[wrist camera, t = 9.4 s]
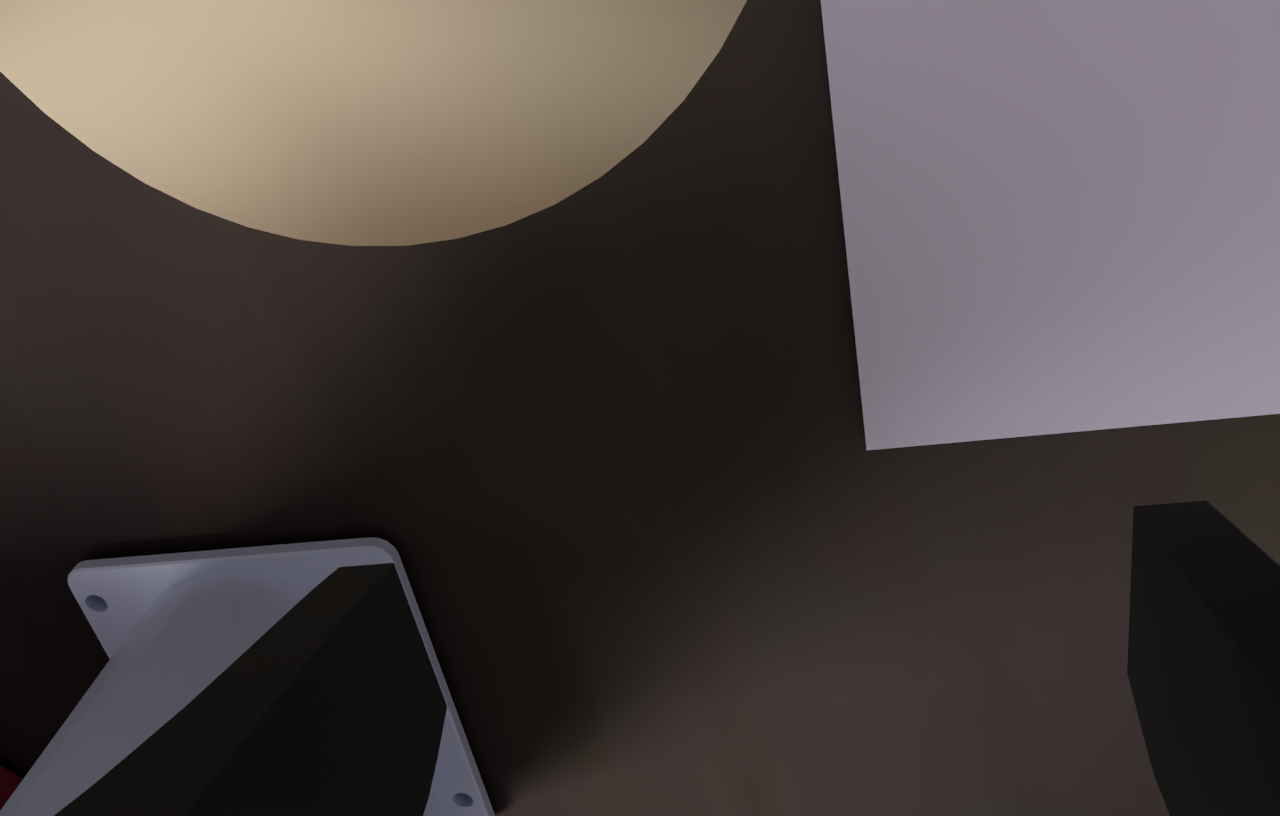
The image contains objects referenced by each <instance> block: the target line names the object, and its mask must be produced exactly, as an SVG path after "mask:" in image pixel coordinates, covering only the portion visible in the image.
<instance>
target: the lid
mask: <svg viewBox="0 0 1280 816" xmlns="http://www.w3.org/2000/svg"><path fill="white" fill-rule="evenodd" d="M746 1H747V0H0V72H2V73H3V74H4V75H5V76H6V77H7V78H8V79H9V80H10V81H11V82H12V83H13V84H14V85H15V86H16V87H17V88H19V89H20V90H21V91H22V92H23V93H24V94H25V95H26V96H27V97H28V98H29V99H30V100H31V101H32V102H33V103H34V104H36V105H37V106H38V107H39V108H40V109H41V110H42V111H43V112H44V113H45V114H46V115H48V116H49V117H50V118H52V119H53V120H54V121H55V122H57V123H58V124H59V125H61V126H62V127H63V128H64V129H66V130H67V131H68V132H70V133H71V134H72V135H74V136H75V137H76V138H77V139H79V140H80V141H81V142H83V143H84V144H85V145H86V146H88V147H89V148H90V149H92V150H93V151H94V152H96V153H97V154H99V155H101V156H102V157H104V158H105V159H107V160H109V161H110V162H112V163H113V164H115V165H117V166H118V167H120V168H121V169H123V170H125V171H126V172H128V173H129V174H131V175H133V176H134V177H136V178H137V179H139V180H140V181H142V182H144V183H146V184H148V185H150V186H152V187H154V188H156V189H158V190H160V191H162V192H164V193H166V194H168V195H170V196H172V197H174V198H176V199H178V200H180V201H182V202H184V203H186V204H188V205H190V206H192V207H194V208H197V209H199V210H202V211H205V212H208V213H210V214H213V215H216V216H219V217H221V218H224V219H227V220H230V221H232V222H235V223H238V224H241V225H243V226H246V227H249V228H253V229H258V230H262V231H266V232H270V233H274V234H278V235H282V236H287V237H291V238H295V239H299V240H306V241H314V242H323V243H331V244H340V245H348V246H407V245H415V244H422V243H430V242H437V241H444V240H452V239H458V238H461V237H465V236H469V235H472V234H476V233H480V232H483V231H487V230H491V229H494V228H498V227H502V226H505V225H508V224H510V223H513V222H515V221H517V220H520V219H522V218H524V217H527V216H529V215H532V214H534V213H536V212H539V211H541V210H543V209H546V208H548V207H550V206H553V205H555V204H557V203H558V202H560V201H562V200H563V199H565V198H567V197H568V196H570V195H572V194H573V193H575V192H577V191H578V190H580V189H582V188H583V187H585V186H587V185H588V184H590V183H592V182H593V181H595V180H597V179H598V178H600V177H601V176H603V175H604V174H605V173H606V172H608V171H609V170H610V169H611V168H613V167H614V166H615V165H616V164H618V163H619V162H620V161H621V160H623V159H624V158H625V157H626V156H628V155H629V154H630V153H631V152H633V151H634V150H635V149H636V148H638V147H639V146H640V145H641V144H643V143H644V142H645V141H646V140H647V139H648V138H649V137H650V136H651V134H652V133H653V132H654V131H655V130H656V129H657V128H658V127H659V126H660V125H661V124H662V123H663V122H664V121H665V120H666V119H667V118H668V117H669V115H670V114H671V113H672V112H673V111H674V110H675V109H676V108H677V107H678V106H679V105H680V104H681V103H682V102H683V101H684V100H685V98H686V97H687V95H688V94H689V93H690V91H691V90H692V88H693V87H694V86H695V84H696V83H697V82H698V80H699V79H700V77H701V76H702V75H703V73H704V72H705V70H706V69H707V68H708V66H709V65H710V64H711V62H712V61H713V59H714V58H715V57H716V55H717V54H718V52H719V51H720V49H721V48H722V46H723V44H724V42H725V40H726V38H727V37H728V35H729V33H730V31H731V29H732V27H733V25H734V24H735V22H736V20H737V18H738V16H739V14H740V13H741V11H742V9H743V7H744V5H745V3H746Z"/></svg>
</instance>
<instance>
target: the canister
mask: <svg viewBox="0 0 1280 816" xmlns="http://www.w3.org/2000/svg"><path fill="white" fill-rule="evenodd" d="M22 780H23V779H22V778H21V777H19V776H17V775H16V774H14V773H13V772H11V771H9V770H8V769H6V768H4V767H2V766H1V765H0V810H1V809H2V808H3V806H4V805H5V804H6V802H7V801H8V799H9V798H10V797H11V795H12V794H13V793H14V791H15V790H16V788H17V787H18V786H19V784H20V783H21V781H22Z"/></svg>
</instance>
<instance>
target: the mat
mask: <svg viewBox="0 0 1280 816" xmlns="http://www.w3.org/2000/svg"><path fill="white" fill-rule="evenodd" d="M821 10H822V19H823V29H824V39H825V49H826V58H827V68H828V78H829V88H830V97H831V107H832V117H833V127H834V137H835V146H836V156H837V166H838V176H839V185H840V195H841V205H842V215H843V224H844V234H845V244H846V254H847V264H848V273H849V283H850V293H851V303H852V312H853V322H854V332H855V342H856V351H857V361H858V371H859V381H860V391H861V400H862V410H863V420H864V430H865V439H866V449H867V450H877V449H888V448H900V447H911V446H922V445H933V444H944V443H956V442H967V441H978V440H989V439H1000V438H1012V437H1023V436H1034V435H1045V434H1056V433H1068V432H1079V431H1090V430H1101V429H1113V428H1124V427H1135V426H1146V425H1157V424H1169V423H1180V422H1191V421H1202V420H1213V419H1225V418H1236V417H1247V416H1258V415H1269V414H1280V0H821Z"/></svg>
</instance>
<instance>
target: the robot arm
mask: <svg viewBox="0 0 1280 816" xmlns="http://www.w3.org/2000/svg"><path fill="white" fill-rule="evenodd" d="M67 582H68V585H69V588H70V589H71V591H72V593H73V595H74V596H75V598H76V600H77V602H78V604H79V605H80V607H81V609H82V611H83V612H84V614H85V616H86V618H87V620H88V621H89V623H90V625H91V627H92V628H93V630H94V632H95V634H96V636H97V637H98V639H99V641H100V643H101V645H102V646H103V648H104V650H105V652H106V653H107V655H108V657H109V659H110V660H109V661H108V663H107V664H106V665H105V667H104V668H103V670H102V671H101V672H100V674H99V675H98V677H97V678H96V679H95V681H94V682H93V683H92V685H91V686H90V688H89V689H88V690H87V692H86V693H85V694H84V696H83V697H82V699H81V700H80V701H79V703H78V704H77V706H76V707H75V708H74V710H73V711H72V712H71V714H70V715H69V717H68V718H67V719H66V721H65V722H64V723H63V725H62V726H61V728H60V729H59V730H58V732H57V733H56V735H55V736H54V737H53V739H52V740H51V741H50V743H49V744H48V746H47V747H46V748H45V750H44V751H43V752H42V754H41V755H40V757H39V758H38V759H37V761H36V762H35V764H34V765H33V766H32V768H31V769H30V770H29V772H28V773H27V775H26V776H25V777H24V779H23V780H22V781H21V783H20V784H19V786H18V787H17V788H16V790H15V791H14V793H13V794H12V795H11V797H10V798H9V799H8V801H7V802H6V804H5V805H4V806H3V808H2V809H1V810H0V816H495V814H494V811H493V809H492V806H491V803H490V800H489V798H488V795H487V792H486V790H485V787H484V784H483V781H482V779H481V776H480V773H479V771H478V768H477V765H476V762H475V760H474V757H473V754H472V752H471V749H470V746H469V743H468V741H467V738H466V735H465V732H464V730H463V727H462V724H461V722H460V719H459V716H458V713H457V711H456V708H455V705H454V703H453V700H452V697H451V694H450V692H449V689H448V686H447V684H446V681H445V678H444V675H443V673H442V670H441V667H440V665H439V662H438V659H437V656H436V654H435V651H434V648H433V646H432V643H431V640H430V637H429V635H428V632H427V629H426V627H425V624H424V621H423V618H422V616H421V613H420V610H419V608H418V605H417V602H416V599H415V597H414V594H413V591H412V589H411V586H410V583H409V580H408V578H407V575H406V572H405V570H404V567H403V564H402V561H401V559H400V556H399V553H398V552H397V550H396V549H395V547H394V546H393V545H392V544H390V543H389V542H388V541H386V540H383V539H381V538H374V537H367V538H355V539H342V540H330V541H318V542H305V543H293V544H281V545H268V546H256V547H244V548H232V549H219V550H207V551H195V552H182V553H170V554H158V555H146V556H133V557H121V558H109V559H96V560H86V561H82V562H79V563H78V564H77V565H76V566H75V567H74V569H73V570H72V571H71V572H70V573H69V574H68V579H67ZM98 596H99V597H101V598H103V599H104V600H103V599H101V598H99V597H98ZM1127 673H1128V677H1129V681H1130V685H1131V689H1132V693H1133V697H1134V701H1135V705H1136V709H1137V712H1138V716H1139V720H1140V724H1141V728H1142V732H1143V736H1144V739H1145V743H1146V747H1147V750H1148V754H1149V758H1150V762H1151V765H1152V769H1153V773H1154V775H1155V778H1156V781H1157V783H1158V786H1159V788H1160V791H1161V794H1162V796H1163V799H1164V801H1165V804H1166V807H1167V809H1168V812H1169V814H1170V816H1280V565H1279V564H1278V563H1276V562H1275V561H1274V560H1273V559H1272V558H1271V557H1270V556H1269V555H1267V554H1266V553H1265V552H1264V551H1263V550H1262V549H1261V548H1260V547H1258V546H1257V545H1256V544H1255V543H1254V542H1253V541H1252V540H1251V539H1249V538H1248V537H1247V536H1246V535H1245V534H1244V533H1243V532H1242V531H1241V530H1239V529H1238V528H1237V527H1236V526H1235V525H1234V524H1233V523H1232V522H1230V521H1229V520H1228V519H1227V518H1226V517H1225V516H1224V515H1222V514H1221V513H1220V512H1219V511H1218V510H1217V509H1215V508H1214V507H1213V506H1212V505H1211V504H1209V503H1208V502H1207V501H1198V502H1184V503H1171V504H1158V505H1145V506H1134V517H1133V542H1132V568H1131V593H1130V619H1129V644H1128V670H1127ZM463 793H464V794H463Z"/></svg>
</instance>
